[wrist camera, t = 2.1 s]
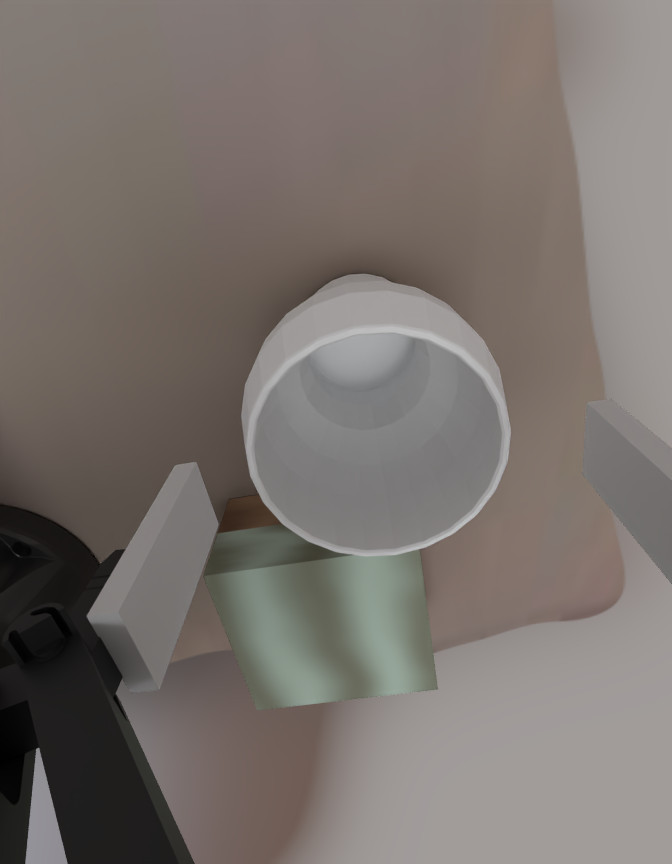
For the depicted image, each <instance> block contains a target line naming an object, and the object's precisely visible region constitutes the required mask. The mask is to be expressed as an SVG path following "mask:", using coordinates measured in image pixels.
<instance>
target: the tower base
mask: <svg viewBox="0 0 672 864" xmlns="http://www.w3.org/2000/svg"><path fill="white" fill-rule="evenodd" d="M203 577H204V579H205V582H206V584H207V587H208V589H209V592H210V594H211V596H212V599H213V601H214V604H215V606H216V609H217V611H218V614H219V616H220V619H221V621H222V624H223V626H224V629H225V631H226V634H227V636H228V639H229V641H230V644H231V646H232V649H233V651H234V654H235V656H236V658H237V661H238V663H239V666H240V668H241V671H242V674H243V676H244V678H245V681H246V683H247V686H248V689H249V691H250V694H251V696H252V699H253V701H254V703H255V706H256V708H257V710H264V709H273V708H281V707H290V706H298V705H307V704H316V703H325V702H333V701H342V700H351V699H358V698H368V697H377V696H385V695H394V694H403V693H411V692H420V691H428V690H437V689H438V687H437V679H436V672H435V664H434V656H433V648H432V641H431V633H430V625H429V618H428V610H427V602H426V595H425V587H424V579H423V572H422V564H421V556H420V549H418V550H414V551H410V552H406V553H402V554H398V555H388V556H368V557H365V556H358V555H352V554H345V553H339V552H334V551H332V550H329V549H326V548H324V547H321V546H319V545H316V544H313V543H311V542H308V541H306V540H305V539H303V538H302V537H300V536H299V535H298V534H296V533H295V532H293V531H292V530H290V529H289V528H287V527H286V526H284V525H283V524H282V523H281V522H280V521H279V520H278V519H277V517H276V516H275V515H274V514H273V513H272V512H271V511H270V510H269V508H268V507H267V506H266V505H265V504H264V503H263V501H262V499H261V497H260V495H253V496H246V497H240V498H233V499H229V501H228V504H227V507H226V510H225V513H224V516H223V519H222V522H221V525H220V528H219V531H218V534H217V537H216V540H215V543H214V546H213V549H212V552H211V555H210V558H209V561H208V564H207V567H206V570H205V573H204V576H203Z"/></svg>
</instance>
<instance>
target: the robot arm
mask: <svg viewBox="0 0 672 864" xmlns="http://www.w3.org/2000/svg"><path fill="white" fill-rule="evenodd" d="M582 474H583V475H584V477H585V478H586V479H587V480H588V482H589V483H590V484H591V485H592V486H593V488H594V489H595V490H596V491H597V493H598V494H599V495H600V496H601V498H602V499H603V500H604V501H605V502H606V504H607V505H608V506H609V507H610V509H611V510H612V511H613V512H614V514H615V515H616V516H617V517H618V518H619V520H620V521H621V522H622V523H623V525H624V526H625V527H626V528H627V529H628V531H629V532H630V533H631V534H632V536H633V537H634V538H635V539H636V541H637V542H638V543H639V544H640V546H641V547H642V548H643V549H644V550H645V552H646V553H647V554H648V555H649V556H650V558H651V559H652V560H653V562H654V563H655V564H656V565H657V566H658V568H659V569H660V570H661V571H662V573H663V574H664V575H665V576H666V578H667V579H668V580H669V581H670V582H671V584H672V448H671V447H670V446H669V445H667V444H666V443H665V442H664V441H663V440H661V439H660V438H659V437H658V436H656V435H655V434H654V433H653V432H651V431H650V430H649V429H648V428H647V427H645V426H644V425H643V424H642V423H641V422H639V421H638V420H637V419H635V418H634V417H633V416H632V415H630V413H628V412H627V411H626V410H625V409H623V408H622V407H621V406H620V405H618V404H617V403H616V402H614V400H612V399H605V400H599V401H592V402H587V405H586V421H585V438H584V455H583V472H582ZM218 526H219V524H218V521H217V518H216V515H215V512H214V510H213V507H212V504H211V501H210V499H209V496H208V493H207V490H206V487H205V485H204V482H203V479H202V476H201V474H200V471H199V468H198V465H197V462H192V463H185V464H179V465H175V466H174V468H173V470H172V471H171V473H170V475H169V476H168V478H167V480H166V482H165V483H164V485H163V487H162V488H161V490H160V492H159V494H158V495H157V497H156V499H155V500H154V502H153V504H152V505H151V507H150V509H149V511H148V512H147V514H146V516H145V517H144V519H143V521H142V522H141V524H140V526H139V528H138V529H137V531H136V533H135V534H134V536H133V538H132V540H131V541H130V543H129V545H128V546H127V548H126V549H122V550H115V551H114V552H113V553H112V554H111V555H110V556H109V557H108V558H107V559H105V560H104V561H103V562H102V563H101V564H100V566H99V565H98V563H97V562H96V560H95V559H94V557H93V556H92V555H91V553H90V552H89V551H88V550H87V549H86V548H85V547H84V546H83V545H82V544H81V543H80V542H79V541H78V540H77V539H76V538H75V537H73V536H72V535H71V534H69V533H68V532H67V531H65V530H64V529H62V528H60V527H59V526H57V525H56V524H54V523H52V522H50V521H48V520H46V519H44V518H42V517H39V516H37V515H34V514H32V513H29V512H26V511H23V510H19V509H15V508H11V507H5V506H0V864H25V859H26V849H27V839H28V828H29V817H30V806H31V796H32V786H33V775H34V764H35V755H36V749H37V748H40V753H41V757H42V761H43V765H44V769H45V773H46V777H47V781H48V785H49V788H50V793H51V797H52V801H53V805H54V809H55V813H56V818H57V822H58V825H59V829H60V834H61V838H62V842H63V846H64V850H65V854H66V858H67V862H68V864H195V863H194V861H193V859H192V857H191V855H190V853H189V850H188V848H187V846H186V844H185V842H184V839H183V837H182V835H181V833H180V831H179V829H178V826H177V824H176V822H175V820H174V818H173V815H172V813H171V811H170V809H169V807H168V804H167V802H166V800H165V798H164V796H163V794H162V791H161V789H160V787H159V785H158V783H157V781H156V778H155V776H154V774H153V772H152V770H151V767H150V765H149V763H148V761H147V759H146V756H145V754H144V752H143V750H142V748H141V745H140V743H139V741H138V739H137V737H136V735H135V732H134V730H133V728H132V726H131V724H130V721H129V719H128V717H127V715H126V713H125V711H124V709H123V706H122V704H121V702H120V700H119V699H118V697H117V695H116V691H117V689H118V686H119V684H120V682H121V680H122V679H123V681H124V682H125V684H126V686H127V688H128V689H129V691H130V693H137V692H146V691H156V690H160V687H161V685H162V681H163V679H164V676H165V673H166V671H167V668H168V665H169V662H170V659H171V657H172V654H173V651H174V648H175V646H176V643H177V640H178V637H179V634H180V632H181V629H182V626H183V623H184V620H185V618H186V615H187V612H188V609H189V607H190V604H191V601H192V598H193V595H194V593H195V590H196V587H197V584H198V581H199V579H200V576H201V573H202V570H203V568H204V565H205V562H206V559H207V556H208V554H209V551H210V548H211V545H212V542H213V540H214V537H215V534H216V531H217V529H218Z"/></svg>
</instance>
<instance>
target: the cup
mask: <svg viewBox="0 0 672 864" xmlns="http://www.w3.org/2000/svg"><path fill="white" fill-rule="evenodd" d="M241 420H242V428H243V436H244V444H245V450H246V456H247V462H248V467H249V473H250V477H251V479H252V481H253V483H254V485H255V487H256V489H257V491H258V493H259V495H260V497H261V499H262V501H263V503H264V504H265V505H266V506H267V507H268V508H269V510H270V511H271V512H272V513H273V514H274V515H275V516H276V517H277V519H278V520H279V521H280V522H281V523H282V524H283V525H284V526H286V527H287V528H289V529H290V530H292V531H293V532H295V533H296V534H298V535H299V536H300V537H302V538H303V539H305V540H306V541H308V542H311V543H313V544H316V545H319V546H321V547H324V548H326V549H329V550H332V551H334V552H339V553H345V554H352V555H358V556H365V557H368V556H388V555H398V554H402V553H406V552H410V551H414V550H418V549H421V548H425V547H428V546H430V545H432V544H434V543H436V542H438V541H440V540H442V539H444V538H446V537H448V536H450V535H452V534H454V533H455V532H456V531H457V530H459V529H460V528H461V527H462V526H463V525H465V524H466V523H467V522H468V521H470V520H471V519H472V518H473V517H475V516H476V515H477V514H478V513H479V511H480V510H481V509H482V507H483V506H484V505H485V504H486V502H487V501H488V500H489V498H490V497H491V496H492V494H493V493H494V492H495V490H496V488H497V486H498V484H499V481H500V479H501V476H502V474H503V472H504V469H505V467H506V464H507V462H508V454H509V445H510V436H511V428H510V422H509V417H508V411H507V406H506V400H505V395H504V390H503V385H502V380H501V375H500V370H499V368H498V366H497V364H496V362H495V360H494V358H493V357H492V355H491V353H490V351H489V349H488V347H487V346H486V344H485V342H484V340H483V339H482V338H481V337H480V336H479V335H478V334H477V333H476V332H475V331H474V329H473V328H472V327H471V326H470V325H469V324H468V323H467V322H466V321H465V320H463V319H462V318H461V317H460V316H459V315H458V314H457V313H456V312H455V311H454V310H453V309H452V308H451V307H450V306H449V305H448V304H447V303H445V302H443V301H441V300H440V299H438V298H436V297H434V296H432V295H430V294H428V293H426V292H424V291H422V290H420V289H419V288H416V287H411V286H406V285H402V284H397V283H392V282H390V281H388V280H387V279H385V278H383V277H379V276H374V275H370V274H352V275H346V276H343V277H340V278H338V279H335V280H332V281H331V282H329V283H328V284H326V285H325V286H323V287H322V288H320V289H319V290H318V291H317V292H316V293H315V294H314V295H313V296H312V297H310V298H309V299H307V300H306V301H304V302H303V303H301V304H300V305H299V306H297V307H296V308H294V309H293V310H291V311H290V312H288V313H287V314H286V315H285V316H284V317H283V319H282V320H281V321H280V322H279V323H278V325H277V326H276V327H275V328H274V329H273V331H272V332H271V333H270V334H269V335H268V337H267V338H266V339H265V341H264V343H263V345H262V347H261V350H260V352H259V354H258V356H257V359H256V361H255V363H254V365H253V368H252V370H251V372H250V375H249V377H248V379H247V381H246V384H245V388H244V397H243V405H242V413H241Z"/></svg>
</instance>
